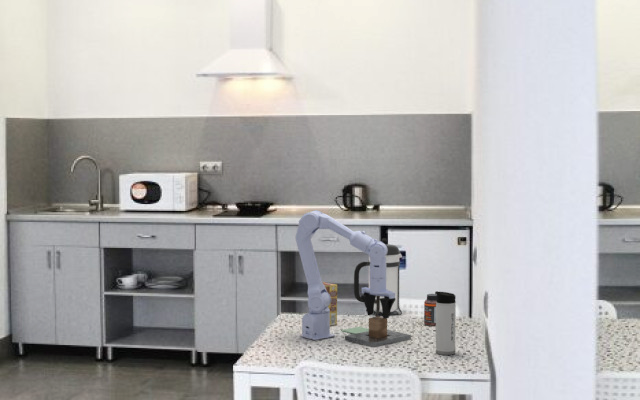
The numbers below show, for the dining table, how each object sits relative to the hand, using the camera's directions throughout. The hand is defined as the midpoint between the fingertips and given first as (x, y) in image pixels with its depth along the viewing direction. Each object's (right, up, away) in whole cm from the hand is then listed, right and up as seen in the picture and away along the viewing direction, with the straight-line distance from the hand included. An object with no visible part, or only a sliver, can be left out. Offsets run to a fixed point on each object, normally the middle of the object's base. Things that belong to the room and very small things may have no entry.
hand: (378, 316), depth 312 cm
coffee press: (+4, -5, +46) cm, 47 cm away
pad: (-6, -7, +14) cm, 17 cm away
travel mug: (+20, -10, -19) cm, 29 cm away
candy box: (-18, -6, +27) cm, 33 cm away
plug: (0, -8, +1) cm, 8 cm away
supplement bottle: (+22, -7, +26) cm, 34 cm away
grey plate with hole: (0, -8, +1) cm, 8 cm away
